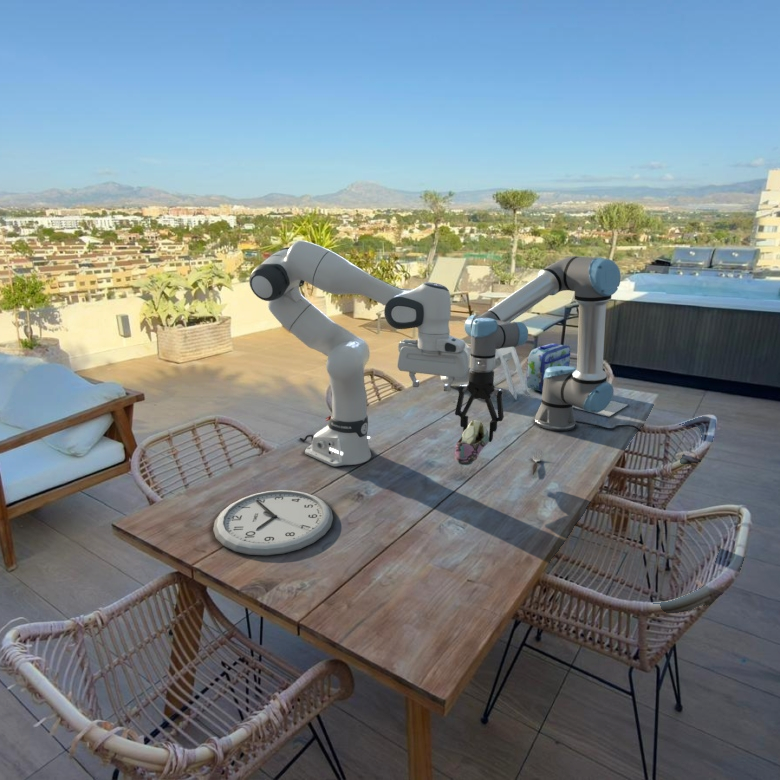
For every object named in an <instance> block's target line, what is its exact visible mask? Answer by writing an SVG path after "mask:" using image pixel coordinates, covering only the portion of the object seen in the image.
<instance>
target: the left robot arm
mask: <svg viewBox="0 0 780 780" xmlns="http://www.w3.org/2000/svg"><path fill="white" fill-rule="evenodd" d="M248 278H249V279H248V280H249V281H248V282H249V287H250V290H251V291H252V293H253V294H254V295H255V296H256V297H257V298H258V299H260V300H262V301H265V302H268V303H267V306H268V310H269V312H270V313H271V314H272V315H273V317H275V319H276V320H277V321H278V322H279V323H280V324H281V326H283V327H284V328H285V329H286V330H287V331H289V333H291V334H292V335H293V336H295V338H297V339H298V340H299V341H301V342H302V343H303V344H304V345H305V346H307V348H309V349H312V350H315V351H317V352H319V353H321V354H322V355H324V356H326V357H327V358H326V364H325V365H326V371H327V374H328V379H329V384H330V391H331V408H332V409H331V411H332V412H331V413H332V414H330V415H329V416H327V417H325V422H328V423H327V424H326V425H325V426H324V427H322V428H321V429H319V430H318V431H317V432H314V433H313V434H307V435H306V436H305V437H304V438H302V437H300V438H299V440H300V441H302V442H305V441H307V439H308V438H311V444H310V445H309V446H307V447H306V448H305V451H304V454H305V455H307V456H309V457H311V458H313V459H315V460H318V461H320V462H322V463H324V464H326V465H328V466H331V467H342V466H353V465H354V466H355V465H360V464H364V463H366V462H368V461H369V460H370V459H371V458H372V453H371V449H370V444H369V440H370V439H371V436H368V431H369V416H368V413H367V409H368V408H367V402H368V400H367V398H368V397H367V396H368V395H367V390H366V383H365V367H366V365H367V364H368V362H369V359H370V357H371V356H370V354H371V351H370V347H369V344H368V343H367V341H366V340H365V339H363V338H362V337H359V336H358V335H355V334H354V333H352V332H351V331H350V330H348V329H347V328H345V327H343V326H341V325H340V324H338V323H337V322H335V321H334V320H332V319H331V318H330V317H329V316H328V315H326V314H325V313H324V312H322V310H320V309H319V308H318V307H317V306H315V305H314V304H313V303H312V302H310V300H309V299H307V298H305V296H304V295H303V294H302V293H301V291H300V287H303V286H304V285H305V283H308V284H309V285H311V286H312V287H314V288H316V289H319V290H320V291H323V292H325V293H328V294H331V295H336V296H343V295H357V296H362V297H366V298H368V299H370V300H373V301H375V302H376V303H379V304H381V305H383V306H384V310H383V311H384V312H383V314H384V318H385V320H386V323H387V324H388V325H389V326H390V327H392V328H394V329H396V330H407V329H415V328H416V329H417V339H408V338H404V339H403V340H400V341H399V342H398V358H397V369H398V370H399V371H401V372H407V373H408V375H409V378H410V380H411V381H412V387H413V388H419V387H420V380H418V379H417V378H416V374H424V375H431V376H439V377H441V376H447V377H448V380H450V382H449V383H448V384H444V385H443V392H447V393H450V391H451V385H453V384H452V382H453V381H454V379H455V378H464V377H465V376H466V375H467V373H468V358H467V354H466V352H465V351H464V348H465V343H466V342H465V340H464V341H462V340H460V339H461V338H460V339H459V338H457V337H455V336H452V335H450V332H451V331H450V327H449V326H450V325H449V324H450V320H451V312H452V311H451V309H452V307H451V305H452V300H451V292H450V290H449V289H448V288H447V287H446V285H443V284H440V283H436V282H423V283H422V284H420V285H419V286H417V287H416V288H414V289H412V288H400V287H398V286H394V285H393V284H391V283H388V282H386V281H385V280H382V279H380V278H378V277H377V276H373V274H370V273H368V272H366V271H364V270H363V269H361V268H360V267H358V266H356V264H354V263H352V262H350V260H347V259H346V258H344V257H343V256H341V255H339V254H337V253H336V252H334V251H332V250H330V249H327V248H326V247H323V246H321V245H319V244H316V243H313V242H310V241H306V240H297V241H295V242H293V244H291V246H287V247H284V248H281V249H280V250H278V251H276V252H275V253H273V254H271V255H270V256H268V257H267V258H266V259H265V260H264V261H262V263H260V264H258V265H257V266H256V267H255V268H254V269H253V270H252V272H251V273H250V275H249V277H248Z"/></svg>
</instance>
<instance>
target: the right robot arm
mask: <svg viewBox="0 0 780 780" xmlns="http://www.w3.org/2000/svg"><path fill="white" fill-rule="evenodd" d="M620 284H621V270H620V268H619V266H618V264H617V263H616V262H615V261H614V260H612V259H609V258H603V257H597V256H595V257H593V256H578V255H573V256H568V257H564V258H562V259H560V260H557V261H555V262H553V263H551V264H550V265H548V266H546V267H545V268H543V269H541V270H540V271H539V272H538V273H537V275H536V277H535V278H534V279H532V280H531V281H529V282H528V283H527V284H525V285H523V286H522V287H521V288H519V289H517V290H516V291H515V292H513V293H512V294H509V296H507V297H505V298H504V299H502V300H501V301H500V302H499V303H497V304H496V305H494V306H493V307H491V308H489V309H488V310H487V311H485V312H484V313H482V314H480V315H479V314H471V315H470V316H468V317H467V318H466V320H465V322H464V332H465V333H466V335H467V336H469V337H470V347H471V352H470V368H471V369H470V370H469V382H468V383H467V384H464V383H460V385H459V386H458V396H457V397H458V398H457V401H456V402H457V403H456V407H455V412H454V415H455V416H458V417H459V418H460V423H459V425H460V427H461V428H462V433H463V432H464V430H465V429H467V427H468V425H469V416H468V415H467V414H468V411H469V410H470V408H471V405H472V404H473V402H474V400H483V401H484V402H485V404H486V407H487V410H488V412H489V415H490V419H491V420H490V421H489V431H488V436H489V442H488V443H492V441H493V439H494V433H496V431H497V429H498V422H503V420H504V417H505V416H504V405H503V393H504V389H503V388H497V387H495V385H494V380H495V369H494V368H495V353H496V350H498V349H500V348H507V347H514V348H516V347H519V346H523V345H524V344H526V342H527V341H528V339H529V329H528V327H527V325H526V324H525V323H524V322H522V321H514V320H516V319H518V318H519V317H520V316H522V315H523V314H524V313H526V312H527V311H529V310H531V309H532V308H533V307H535V306H536V305H538V304H539V303H540V302H542V301H543V300H545V299H547V297H549V296H555V295H557V294H558V293H560V292H564V291H570V292H574V301H575V302H576V303H577V304H578V322H577V323H578V325H577V327H578V328H577V351H576V352H577V355H576V356H577V357H576V367H574V366H570V365H569V366H555V367H549V368H547V369H546V370H545V374H544V378H543V379H544V380H543V390H542V392H541V402H540V405H539V407H538V410H537V411H536V413H535V416H534V424H535V425H536V426H537V427H539V428H542V429H544V430H549V431H556V432H567V431H572V430H574V429H575V428H576V424H580V425H585V426H591V427H596V428H599V429H604V430H608V431H614V430H616V429H617V428H624V427H625V428H633V429H636V430H637V432H642V429H640V428H639V427H638V426H636V425H633V424H616V425H615V426H614V427H607V426H603V425H599V424H596V423H590V422H585V421H579V420H576V418H575V417H576V416H575V413H574V407H578V408H581V409H584V410H585V411H584V410H583V411H584V412H588V411H590V412H589V413H592V412H593V414H596V413H597V412H600V411H602V410H604V409H605V408H606V407H607V406H608V404H609V403H610V401H612V399H613V396H614V386H613V385H612V384H611V383H610V382H608V373H607V372H606V371H605V370H604V369H603V368H604V353H605V352H604V351H605V335H606V334H605V331H606V316H607V315H606V314H607V303H608V302H609V301H611V300H612V296H613V295H614V294H616V292H617V291H618V289H619V287H620V286H621V285H620ZM493 369H494V370H493ZM467 390H468V391H469V394H470V395H469V398H468V400H467V401H466V404H465V405H464V408H463V410H462V407H463V402H464V398H465V394H466V393H465V392H466V391H467ZM493 393H494V396H496V408H497V412H496V408H495V405H494V403H493V400H492V396H491V395H492V394H493Z"/></svg>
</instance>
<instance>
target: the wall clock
mask: <svg viewBox="0 0 780 780" xmlns="http://www.w3.org/2000/svg"><path fill="white" fill-rule="evenodd" d="M333 520H334V516H333V511H332V509H331V507H330V506H329V505H328V503H327V502H325V501H324V500H322V499H321V498H320V497H318V496H315V495H313V494H310V493H307V492H303V491H298V490H287V489H286V490H285V489H280V490H279V489H277V490H267V491H262V492H258V493H257V492H256V493H253V494H250V495H247V496H245V497H241V498H240V499H238V500H236V501H234V502H233V503H230V504H229V505H228V506H227V507H225V508H224V509H223V510H222V511H220V512H219V513H218V516H217V517H216V518H215V519H214V523H213V529H212V530H213V533H214V536H215V540H217V541H218V542H219V543H220V544H221V545H222V546H223V547H225V548H227V549H229V550H231V551H233V552H236V553H241V554H244V555H249V556H250V555H251V556H252V555H253V556H273V555H281V554H282V555H283V554H286V553H292V552H294V551H299V550H301V549H304V548H305V547H307V546H310V545H312V544H314V543H316V542H317V541H319V540H320V539H321V538H323V537H324V536H325V535H326V534H327V533H328V532H329V530H330V529H331V527H332V525H333Z"/></svg>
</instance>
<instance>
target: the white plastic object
mask: <svg viewBox="0 0 780 780" xmlns="http://www.w3.org/2000/svg"><path fill="white" fill-rule="evenodd" d="M460 340H462V341H464V342H465V340H464V339H463V338H460ZM464 351H465V352H466V354H467V358H468V373H467V375H466V376H465V377H464V378H455V379H454V381H453V382H452V384H451V385H458V384H468V383H469V370H470V369H471V368H470V352H471V346H469V345H468V343H466V342H465V348H464ZM510 360H513V363H514V366H515V369H516V372H517V376H518V380H519V382H520V385H521V389H522V391H523V393H524V395H525V396H526V397H528V396H531V395H530V389H529V388H528V387H527V384H526V381H527V380H526V378H525V375H524V371H523V369H522V368H523V367H522V366H521V362H520V359H519V355H518V352H517V349H516V347H507V348H500V349H496V353H495V368H494V369H493V371H495V370H496V369H497V368H499V367H500V366H502V370H503V373H504V376H505V380H506V383H507V386H508V390H509V393H510V394H511V395H512V397H513V398H514V399H515V400H517V392H516V391H517V390H516V388H515V385H514V381H513V378H512V375H511V371H510V369H509V365H508V361H510ZM440 381H442V383H443V384H444V385H445V384H448V383H449V382H450V380H448V377H447V376H440Z"/></svg>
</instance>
